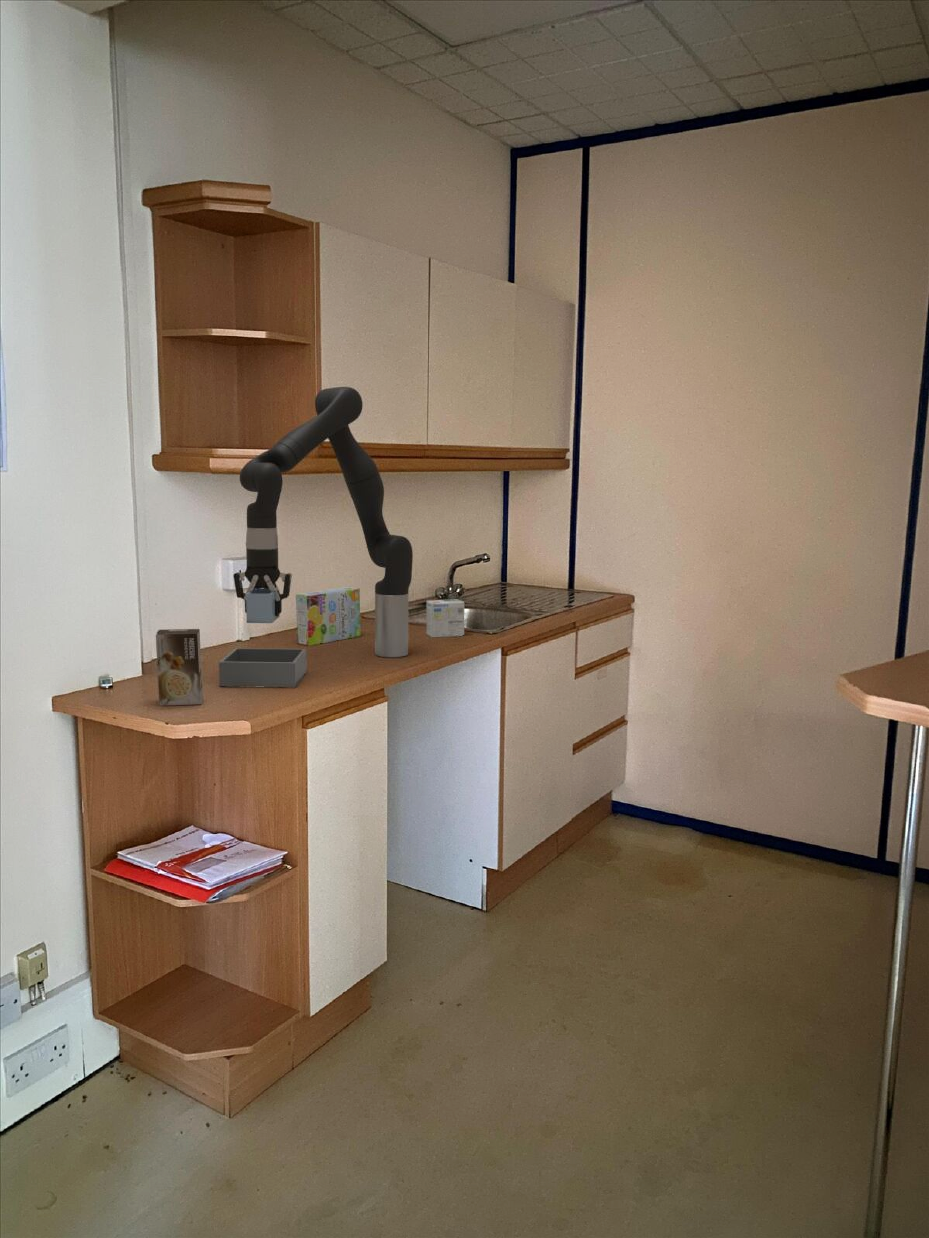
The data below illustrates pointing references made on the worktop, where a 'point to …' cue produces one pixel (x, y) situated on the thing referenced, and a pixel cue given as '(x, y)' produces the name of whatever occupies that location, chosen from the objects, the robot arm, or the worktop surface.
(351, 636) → the snack box
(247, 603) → the blue open bin
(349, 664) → the worktop surface
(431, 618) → the light bulb box
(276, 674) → the charcoal crate
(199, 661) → the coffee box
